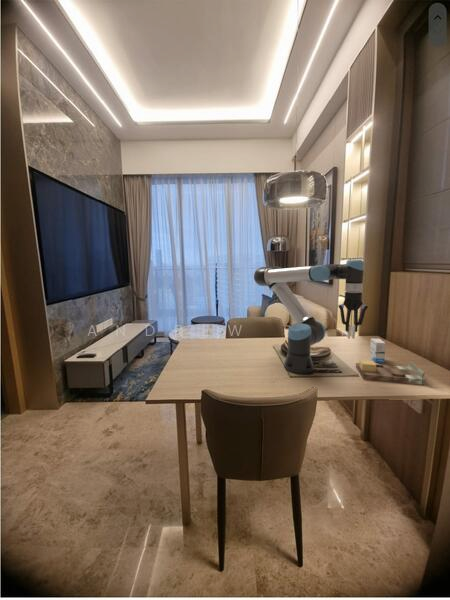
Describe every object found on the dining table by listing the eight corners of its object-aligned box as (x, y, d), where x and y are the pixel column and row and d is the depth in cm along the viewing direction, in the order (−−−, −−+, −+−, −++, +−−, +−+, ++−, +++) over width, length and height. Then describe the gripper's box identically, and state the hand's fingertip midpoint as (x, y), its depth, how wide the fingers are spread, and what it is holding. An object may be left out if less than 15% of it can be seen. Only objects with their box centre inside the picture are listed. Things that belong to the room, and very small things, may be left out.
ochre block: (362, 370, 123) (362, 363, 123) (359, 366, 128) (359, 360, 127) (375, 371, 122) (376, 364, 121) (372, 367, 126) (372, 360, 126)
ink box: (384, 363, 137) (386, 343, 135) (374, 362, 138) (376, 342, 136) (378, 357, 145) (379, 338, 144) (369, 357, 146) (370, 338, 145)
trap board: (363, 379, 119) (364, 367, 118) (355, 367, 133) (356, 356, 132) (423, 384, 113) (424, 372, 112) (409, 371, 126) (410, 360, 126)
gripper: (339, 292, 119) (336, 339, 123) (372, 292, 115) (368, 341, 119) (336, 290, 126) (334, 334, 130) (367, 290, 123) (364, 336, 126)
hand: (350, 337), depth 124 cm, fingers closed
